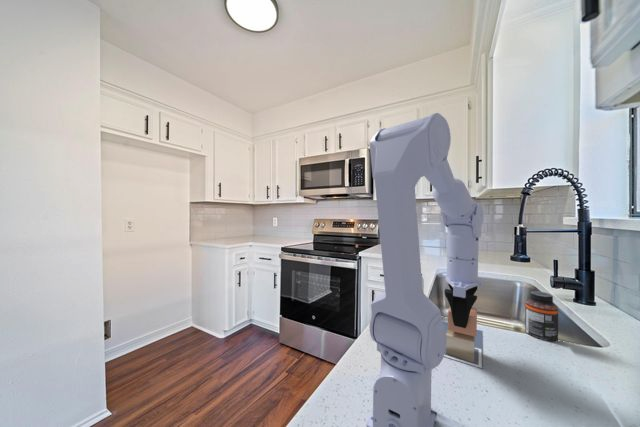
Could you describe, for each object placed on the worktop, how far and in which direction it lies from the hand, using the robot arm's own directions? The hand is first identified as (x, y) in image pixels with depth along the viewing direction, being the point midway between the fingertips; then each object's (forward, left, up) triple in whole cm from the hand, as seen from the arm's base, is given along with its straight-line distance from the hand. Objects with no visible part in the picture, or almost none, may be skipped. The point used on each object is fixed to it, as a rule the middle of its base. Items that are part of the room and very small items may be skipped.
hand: (460, 321), depth 51 cm
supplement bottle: (+20, -16, -8) cm, 27 cm away
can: (+18, +14, -8) cm, 24 cm away
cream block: (0, 0, -7) cm, 7 cm away
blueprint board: (+5, +3, -8) cm, 10 cm away
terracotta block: (0, 0, -1) cm, 1 cm away
